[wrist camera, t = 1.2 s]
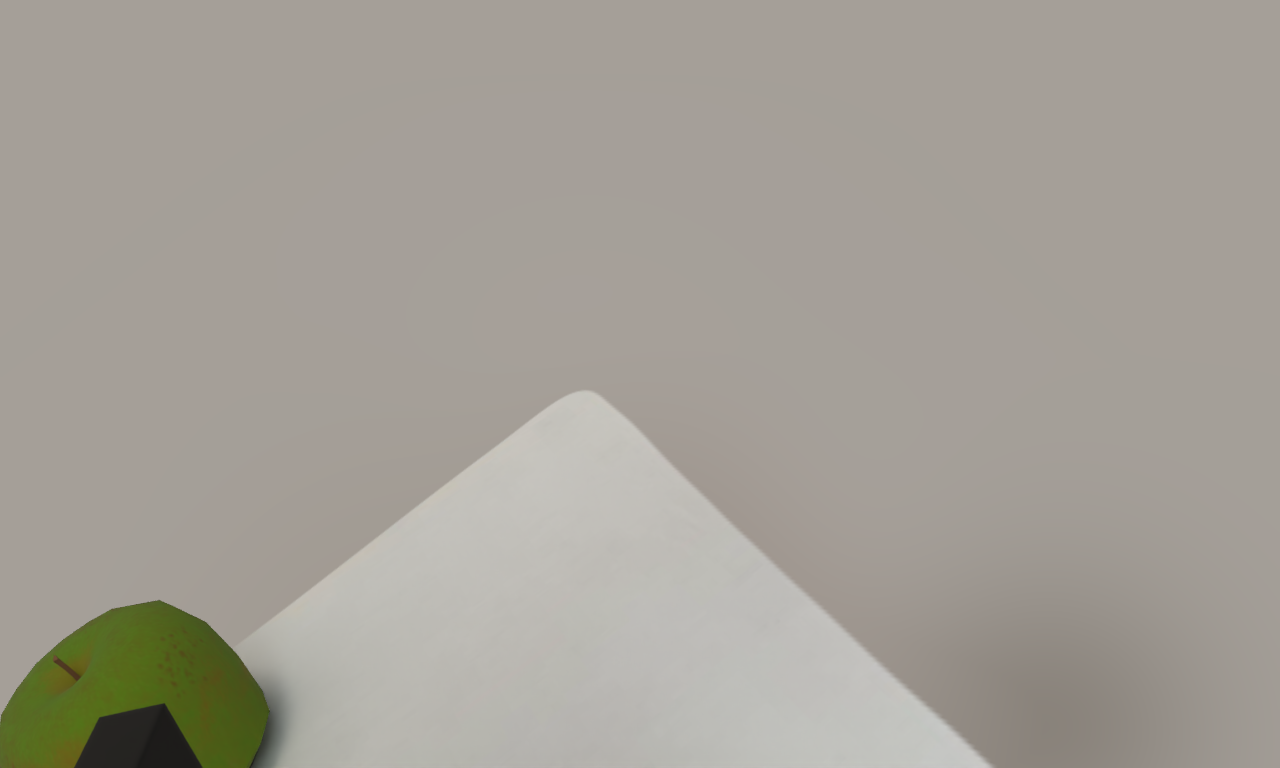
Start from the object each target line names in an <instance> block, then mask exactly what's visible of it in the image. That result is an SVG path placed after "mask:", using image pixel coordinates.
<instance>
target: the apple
mask: <svg viewBox="0 0 1280 768" xmlns="http://www.w3.org/2000/svg"><path fill="white" fill-rule="evenodd" d="M163 703H165V705H166V706H167V708H168V710H169V711H170V713H171V715H172V716H173V718H174V720H175V721H176V723H177V725H178V727H179V728H180V730H181V732H182V733H183V735H184V737H185V738H186V740H187V742H188V743H189V745H190V747H191V749H192V750H193V752H194V754H195V755H196V757H197V759H198V760H199V762H200V764H201V766H202V767H203V768H250V766H251V764H252V761H253V759H254V757H255V755H256V753H257V750H258V748H259V746H260V744H261V741H262V737H263V734H264V730H265V726H266V723H267V719H268V715H269V712H270V710H269V708H268V705H267V702H266V700H265V697H264V694H263V691H262V690H261V688H260V687H259V685H258V684H257V682H256V681H255V679H254V678H253V676H252V675H251V674H250V672H249V671H248V669H247V668H246V666H245V665H244V663H243V662H242V660H241V659H240V658H239V656H238V655H237V654H236V653H235V652H234V651H233V649H232V648H231V647H229V646H228V644H227V643H226V642H225V641H224V640H223V639H222V638H221V637H220V636H219V635H218V634H217V633H216V632H215V631H214V630H213V629H212V628H211V627H210V626H209V625H208V624H207V623H206V622H205V621H202V620H201V619H199V618H197V617H194V616H192V615H190V614H188V613H186V612H184V611H182V610H180V609H178V608H176V607H173V606H171V605H169V604H167V603H164V602H162V601H160V600H158V601H152V602H147V603H141V604H136V605H131V606H125V607H120V608H115V609H111V610H109V611H107V612H106V613H104V614H102V615H100V616H99V617H97V618H95V619H93V620H91V621H89V622H88V623H86V624H85V625H84V626H82V627H81V628H79V629H78V630H76V631H75V632H73V633H72V634H71V635H69V636H68V637H66V638H65V639H63V640H62V641H61V642H60V643H59V644H58V645H56V646H55V647H54V648H53V649H52V650H51V651H50V652H49V653H47V654H46V655H45V656H44V657H43V658H42V659H41V660H40V661H39V662H38V663H37V664H36V665H35V666H34V667H33V668H32V670H31V671H30V673H29V674H28V675H27V676H26V678H25V679H24V680H23V682H22V683H21V684H20V686H19V687H18V688H17V689H16V691H15V693H14V694H13V696H12V698H11V699H10V701H9V703H8V704H7V706H6V708H5V710H4V711H3V713H2V715H1V722H0V768H74V767H75V765H76V763H77V761H78V759H79V757H80V755H81V753H82V751H83V749H84V747H85V745H86V743H87V741H88V739H89V737H90V735H91V733H92V731H93V729H94V727H95V725H96V723H97V721H98V719H99V717H103V716H107V715H112V714H117V713H121V712H126V711H130V710H135V709H140V708H144V707H149V706H154V705H158V704H163Z"/></svg>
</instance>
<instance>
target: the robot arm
mask: <svg viewBox="0 0 1280 768" xmlns="http://www.w3.org/2000/svg"><path fill="white" fill-rule="evenodd" d="M74 768H203V767H202V766H201V764H200V762H199V760H198V759H197V757H196V755H195V754H194V752H193V750H192V749H191V747H190V745H189V743H188V742H187V740H186V738H185V737H184V735H183V733H182V732H181V730H180V728H179V727H178V725H177V723H176V721H175V720H174V718H173V716H172V715H171V713H170V711H169V710H168V708H167V706H166V705H165V703H163V704H158V705H154V706H149V707H144V708H140V709H135V710H130V711H126V712H121V713H117V714H112V715H107V716H103V717H99V719H98V721H97V723H96V725H95V727H94V729H93V731H92V733H91V735H90V737H89V739H88V741H87V743H86V745H85V747H84V749H83V751H82V753H81V755H80V757H79V759H78V761H77V763H76V765H75V767H74Z"/></svg>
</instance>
